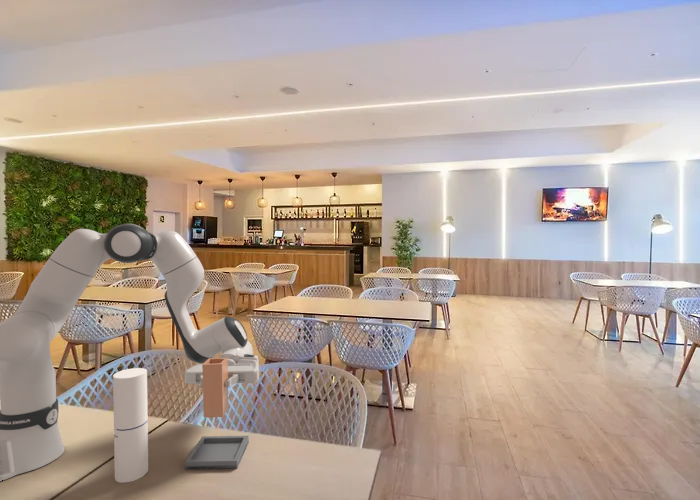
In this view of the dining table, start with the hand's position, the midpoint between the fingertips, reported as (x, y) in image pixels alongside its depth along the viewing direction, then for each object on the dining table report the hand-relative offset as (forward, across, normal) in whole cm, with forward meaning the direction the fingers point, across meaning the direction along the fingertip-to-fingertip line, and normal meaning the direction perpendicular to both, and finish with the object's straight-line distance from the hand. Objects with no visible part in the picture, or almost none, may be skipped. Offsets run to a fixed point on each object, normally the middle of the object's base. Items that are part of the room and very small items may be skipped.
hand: (214, 384), depth 98 cm
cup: (-1, 0, +8) cm, 8 cm away
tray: (0, 0, +19) cm, 19 cm away
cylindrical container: (+6, -18, +19) cm, 28 cm away
